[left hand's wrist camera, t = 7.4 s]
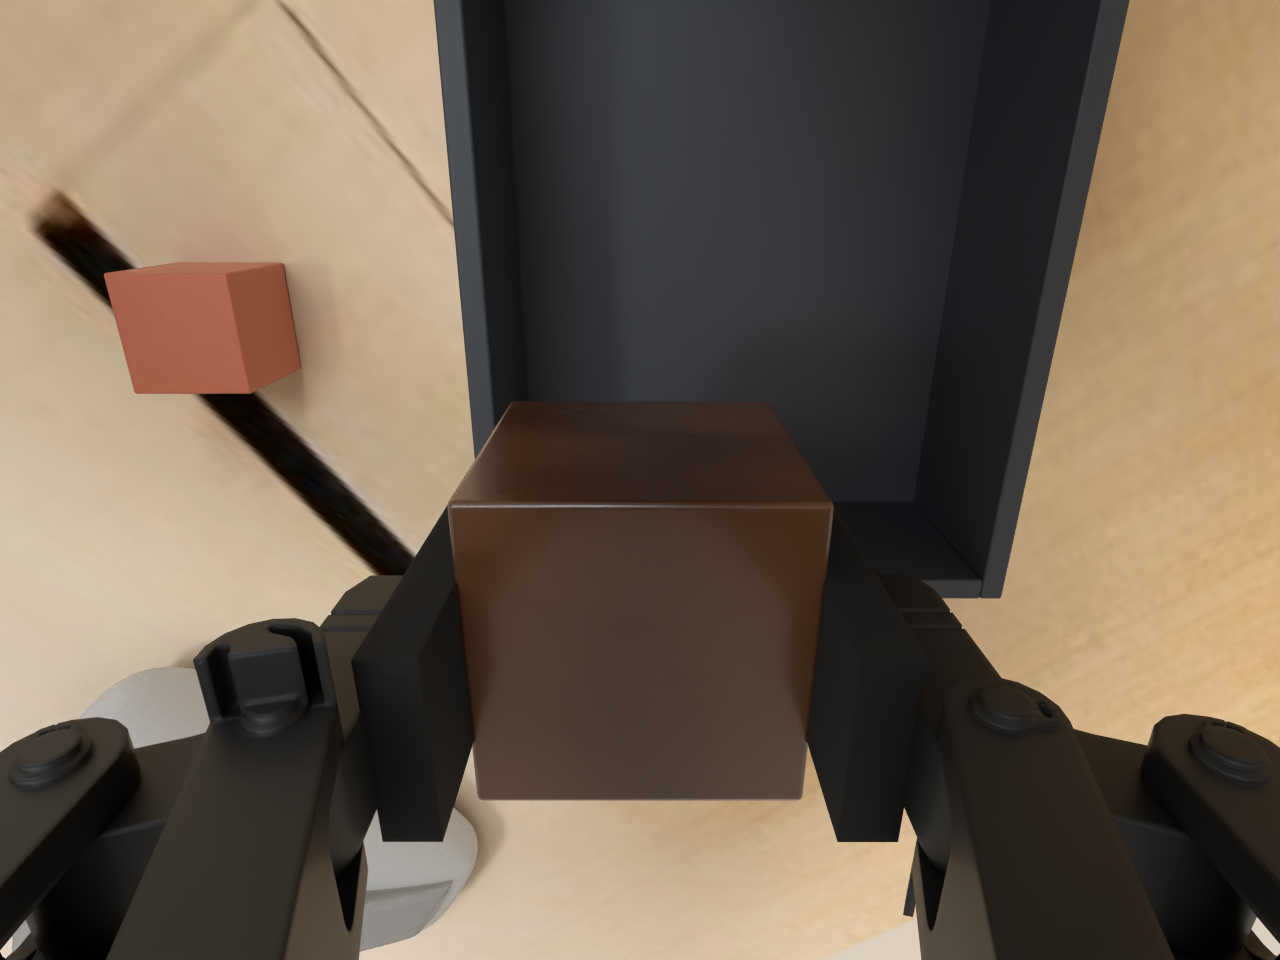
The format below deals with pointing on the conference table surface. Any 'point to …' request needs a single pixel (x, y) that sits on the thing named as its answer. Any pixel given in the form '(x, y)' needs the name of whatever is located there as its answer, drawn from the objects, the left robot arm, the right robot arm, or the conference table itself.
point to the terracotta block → (204, 326)
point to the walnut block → (640, 601)
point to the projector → (397, 871)
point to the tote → (787, 231)
